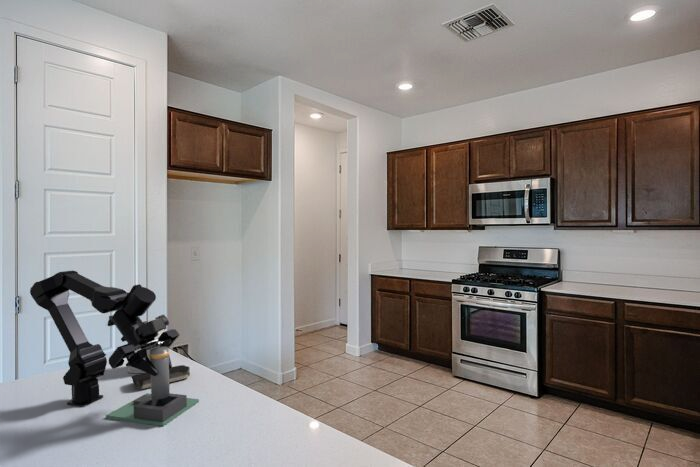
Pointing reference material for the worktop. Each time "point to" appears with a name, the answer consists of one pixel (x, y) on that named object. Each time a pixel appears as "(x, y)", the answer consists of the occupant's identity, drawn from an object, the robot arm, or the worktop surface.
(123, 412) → the header board
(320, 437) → the worktop surface
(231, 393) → the worktop surface
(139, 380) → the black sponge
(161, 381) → the plug
